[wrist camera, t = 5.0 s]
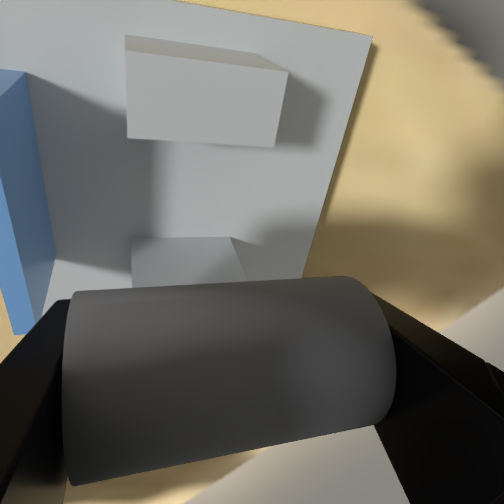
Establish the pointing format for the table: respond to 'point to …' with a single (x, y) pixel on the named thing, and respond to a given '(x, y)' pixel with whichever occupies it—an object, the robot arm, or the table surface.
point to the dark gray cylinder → (218, 370)
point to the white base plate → (162, 145)
